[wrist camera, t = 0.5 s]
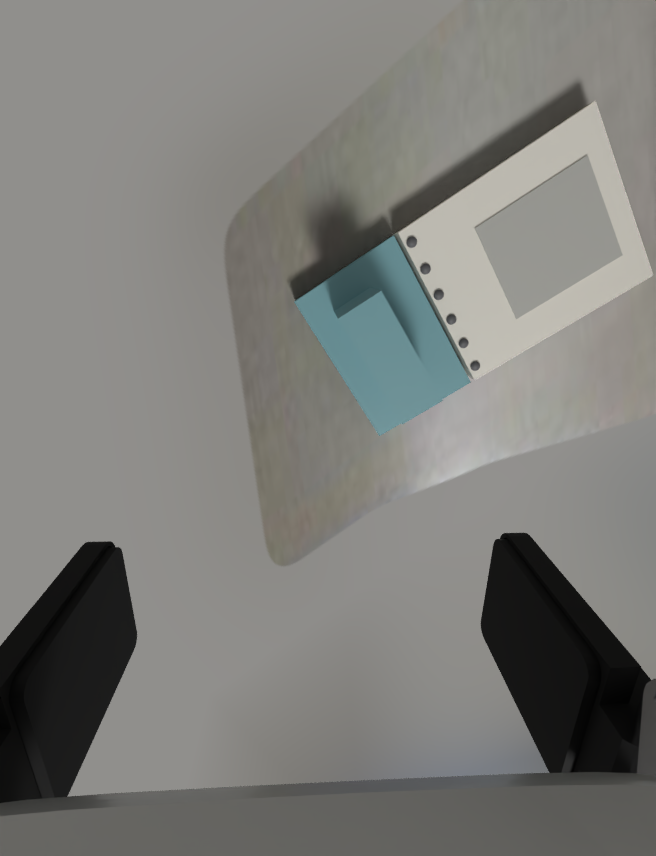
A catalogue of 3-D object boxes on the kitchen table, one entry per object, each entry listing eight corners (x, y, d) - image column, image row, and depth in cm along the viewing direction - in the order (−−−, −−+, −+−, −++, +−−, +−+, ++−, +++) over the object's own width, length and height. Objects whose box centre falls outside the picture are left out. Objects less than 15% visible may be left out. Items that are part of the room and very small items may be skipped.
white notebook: (580, 109, 28) (596, 100, 26) (637, 275, 32) (654, 275, 30) (393, 234, 30) (398, 232, 29) (467, 375, 34) (475, 380, 32)
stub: (390, 236, 30) (409, 229, 24) (464, 377, 34) (497, 401, 28) (294, 300, 31) (291, 308, 25) (376, 429, 35) (390, 462, 29)
